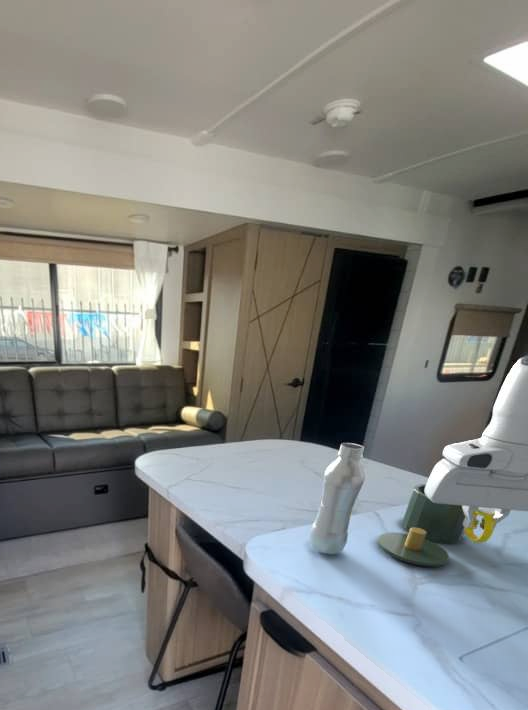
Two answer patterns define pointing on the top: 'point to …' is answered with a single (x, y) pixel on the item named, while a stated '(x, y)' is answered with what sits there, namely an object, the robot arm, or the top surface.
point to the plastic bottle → (338, 500)
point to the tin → (434, 518)
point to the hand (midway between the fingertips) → (477, 528)
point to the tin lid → (413, 548)
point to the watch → (488, 526)
